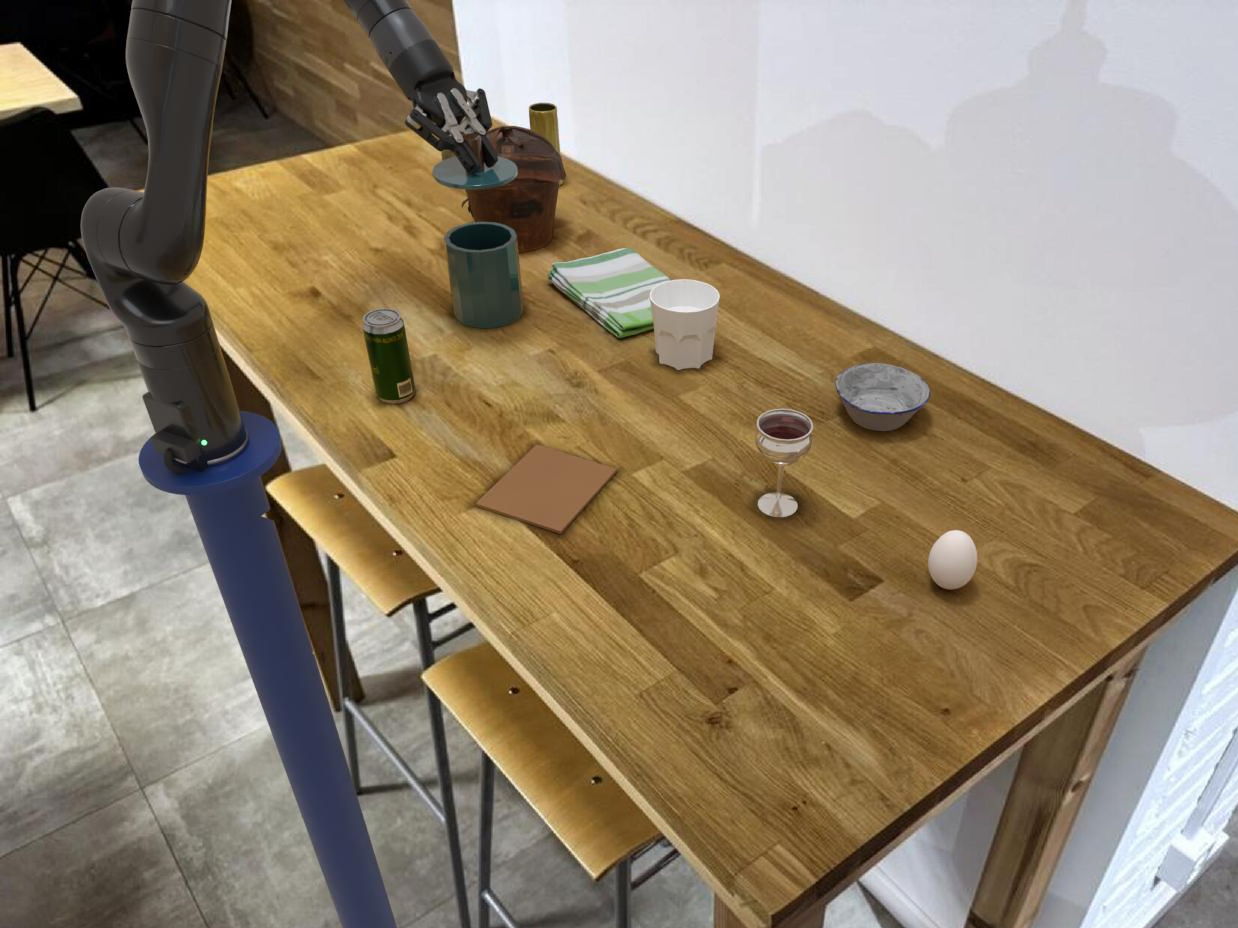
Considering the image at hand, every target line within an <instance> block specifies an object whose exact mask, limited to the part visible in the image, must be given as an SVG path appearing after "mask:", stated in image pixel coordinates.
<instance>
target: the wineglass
mask: <svg viewBox="0 0 1238 928" xmlns="http://www.w3.org/2000/svg"><path fill="white" fill-rule="evenodd" d="M756 426H757V429H756V432H755V437H754V442H755V446H756V449H757V451H758V453H759V455H761V457H763V458H764V459H765V460H766V461H768V462H769V463H771V464H772V465H776V466H777V479H776V480H777V482H776V483H777V484H776V492H768V493H766V494H764V495H762V496H761V497H759V499H758V501H757V507H758V509H759V510H760V511H761V512H762V513H763V514H765V515H767V516H770V517H773V518H786V517H790V516H791V515H793V514H794V513H795V512H796V511H797V510H798V505H799V504H798V502H797V500H796V499H795V498H794V497H793V496H791V495H789V494H787V493H783V492H782V487H783V479H784V478H783V477H784V472H785V471H784V470H785V466H791V465H794V464H796V463H798V462H800V461H801V460H803V459H804V458H806V456H807V455H808V453H809V452H810V449H811V447H812V444H813V434H812V431H813V430H814V423H813V422H812V419H811V418H810V417H809V416H808V415H806V414H805V413H802V412H801V411H799V410H794V409H791V408H773V409H770V410H767V411H764V412H763V413H762V414H760V415H759V417H758V418H757V419H756Z"/></svg>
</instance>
